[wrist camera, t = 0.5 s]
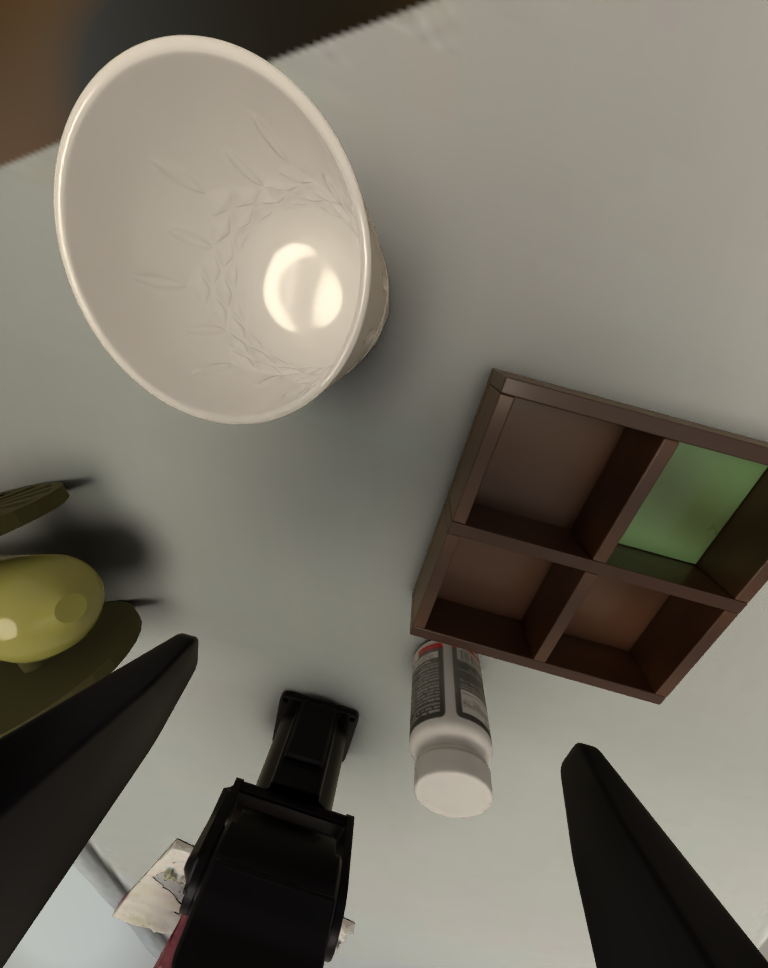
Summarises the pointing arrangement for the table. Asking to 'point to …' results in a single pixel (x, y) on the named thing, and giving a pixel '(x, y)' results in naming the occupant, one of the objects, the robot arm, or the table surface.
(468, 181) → the table surface
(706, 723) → the table surface
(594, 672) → the rack
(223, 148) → the white cup
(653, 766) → the table surface
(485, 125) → the table surface
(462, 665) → the pill bottle
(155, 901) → the potted flower
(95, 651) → the cannon
